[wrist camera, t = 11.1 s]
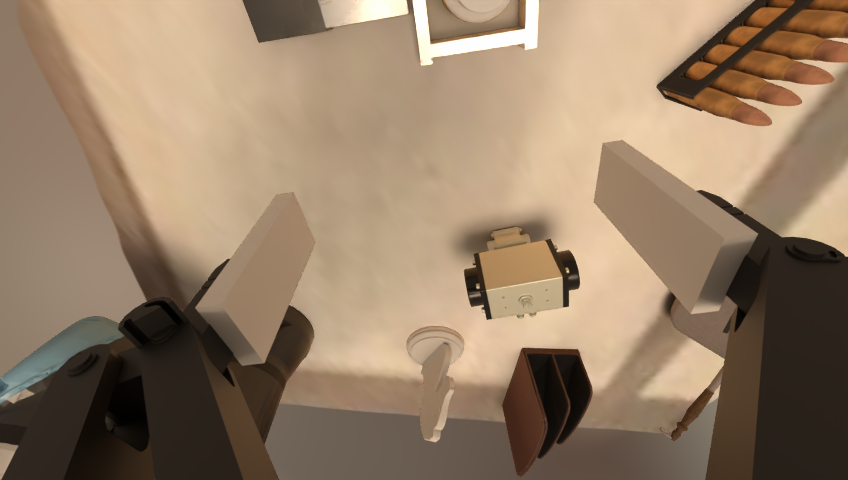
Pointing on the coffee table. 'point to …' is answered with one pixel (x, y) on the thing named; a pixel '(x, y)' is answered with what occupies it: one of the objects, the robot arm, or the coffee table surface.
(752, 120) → the ammunition clip
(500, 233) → the pneumatic valve
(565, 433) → the letter holder
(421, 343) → the chess piece
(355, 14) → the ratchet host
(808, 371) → the robot arm
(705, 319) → the coffee pot
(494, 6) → the supplement bottle
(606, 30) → the coffee table surface
